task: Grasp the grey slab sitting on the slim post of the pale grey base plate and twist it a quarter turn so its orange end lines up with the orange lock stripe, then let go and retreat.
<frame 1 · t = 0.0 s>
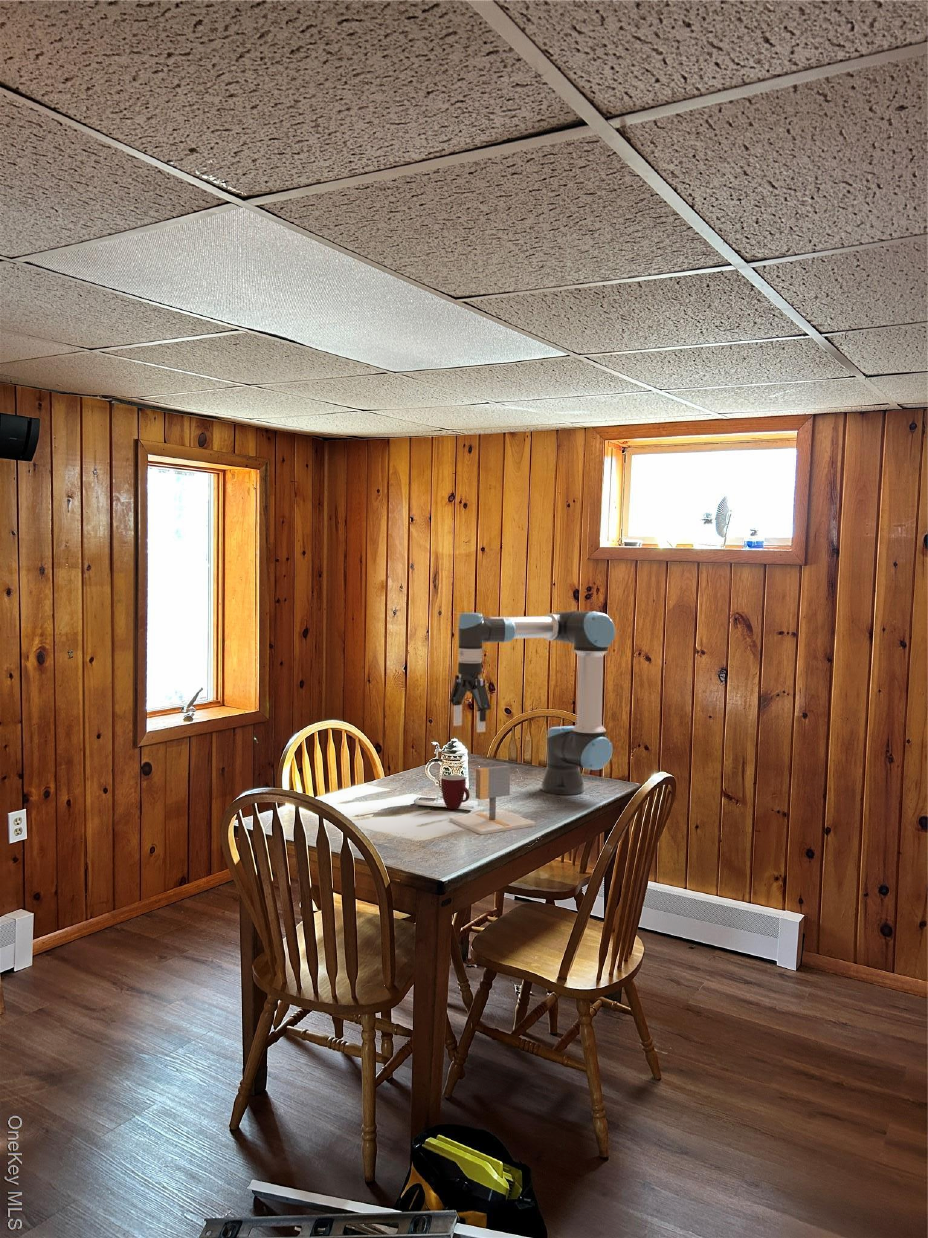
hand: (469, 728, 289), 28 cm above the table, fingers open, 13 cm apart
grey slab: (492, 782, 282), point 13 cm above the table, hinge at 0.0°
mug: (456, 808, 300), on the table
post base: (492, 823, 282), on the table
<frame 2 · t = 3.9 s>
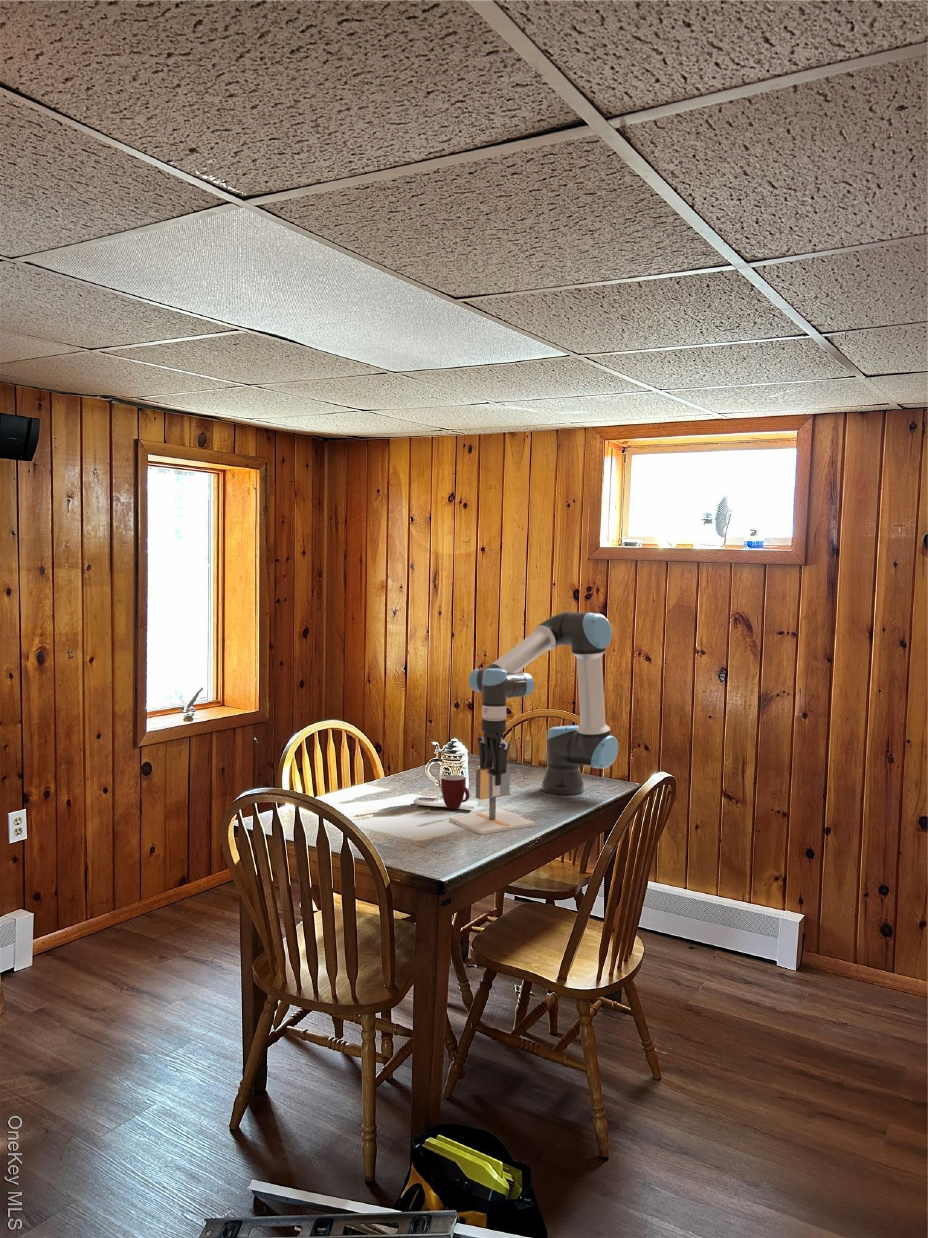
hand: (492, 794, 282), 9 cm above the table, fingers closed on grey slab, 3 cm apart
grey slab: (492, 782, 282), point 13 cm above the table, hinge at 0.4°, touching gripper
everything else where it was.
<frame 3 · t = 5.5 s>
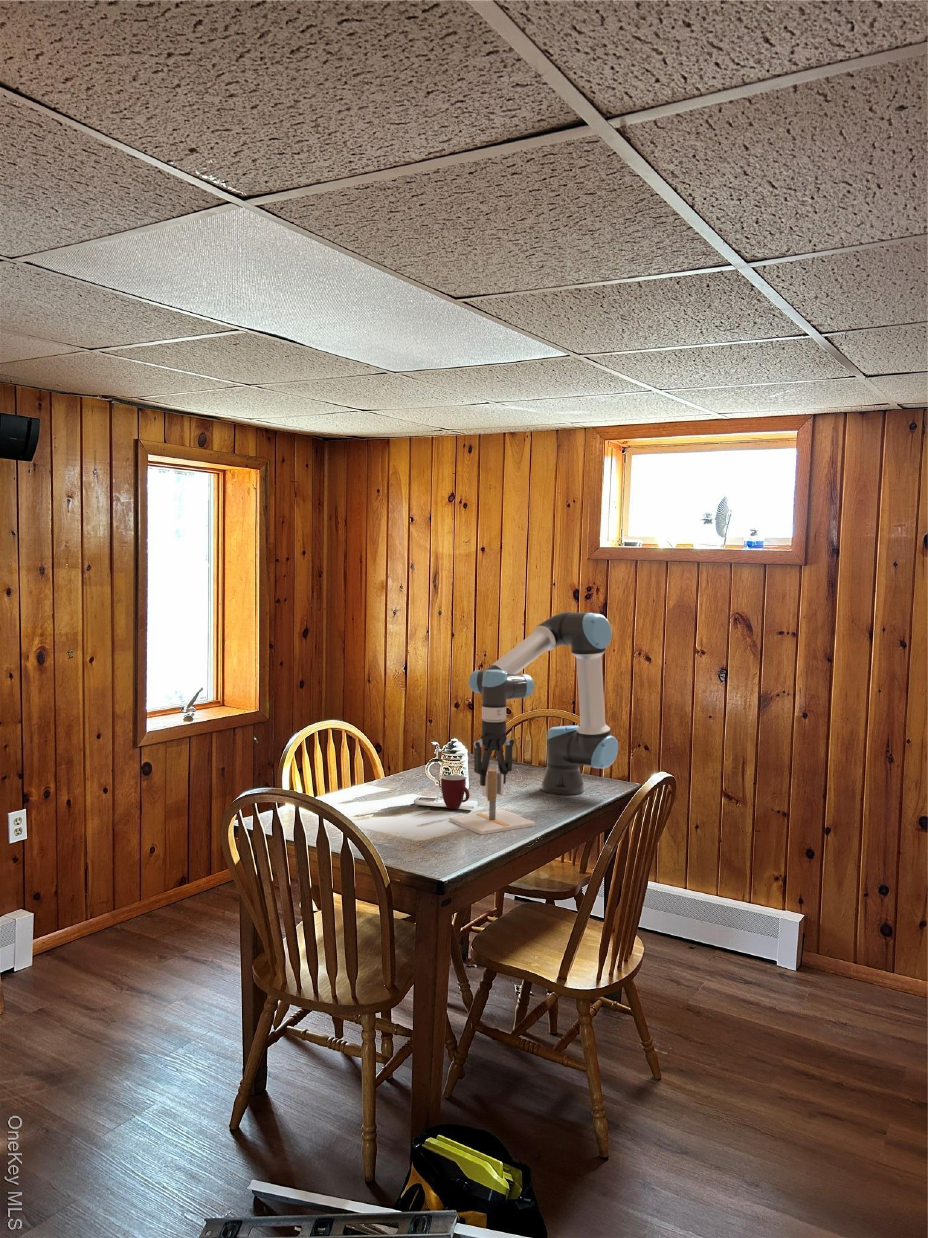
hand: (492, 795, 282), 9 cm above the table, fingers closed on grey slab, 4 cm apart
grey slab: (492, 782, 282), point 13 cm above the table, hinge at 52.8°, touching gripper
everything else where it was.
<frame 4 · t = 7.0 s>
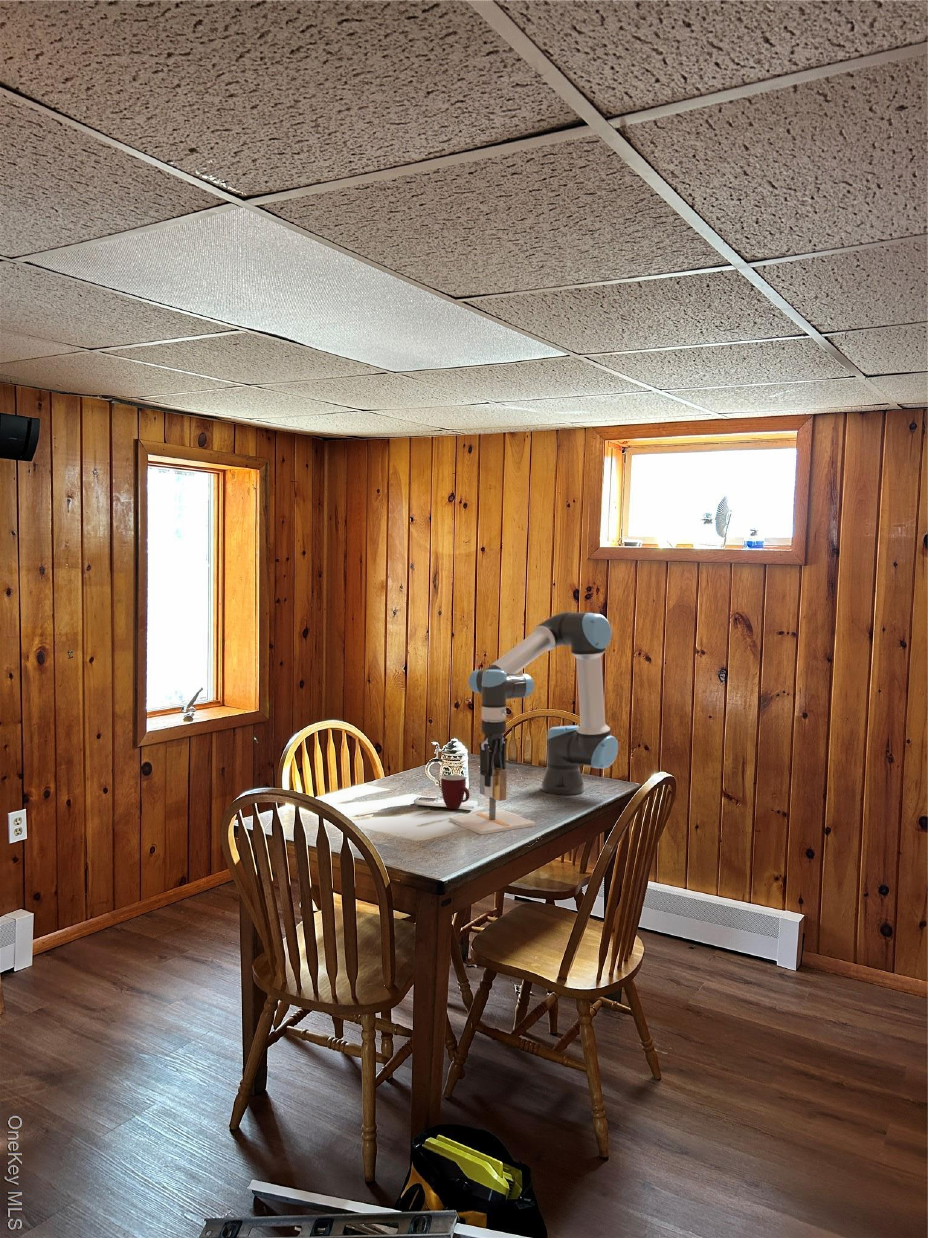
hand: (492, 795, 282), 9 cm above the table, fingers closed on grey slab, 4 cm apart
grey slab: (492, 782, 282), point 13 cm above the table, hinge at 89.7°, touching gripper
everything else where it was.
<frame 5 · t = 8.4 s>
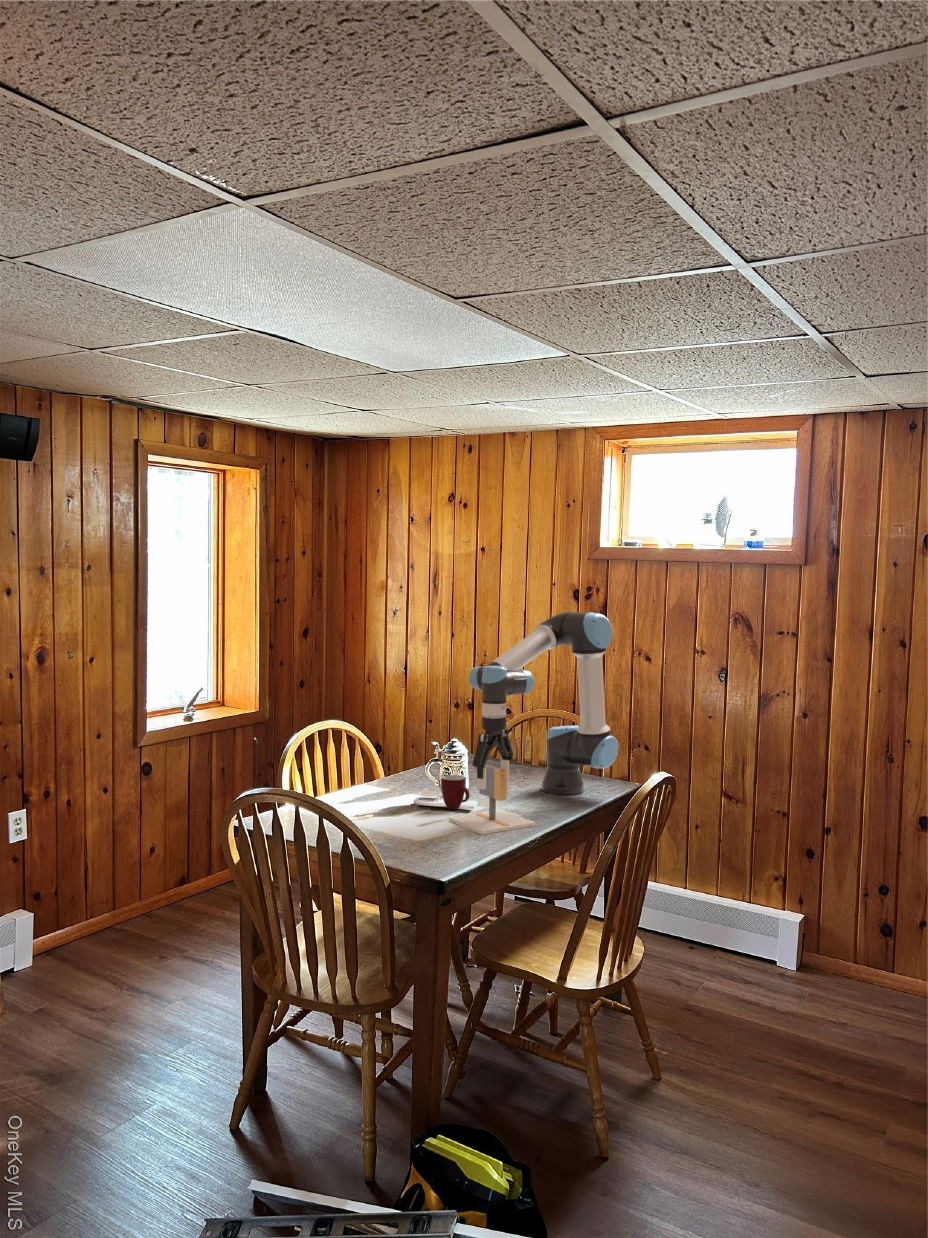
hand: (493, 784, 282), 12 cm above the table, fingers open, 13 cm apart
grey slab: (492, 782, 282), point 13 cm above the table, hinge at 91.6°
everything else where it was.
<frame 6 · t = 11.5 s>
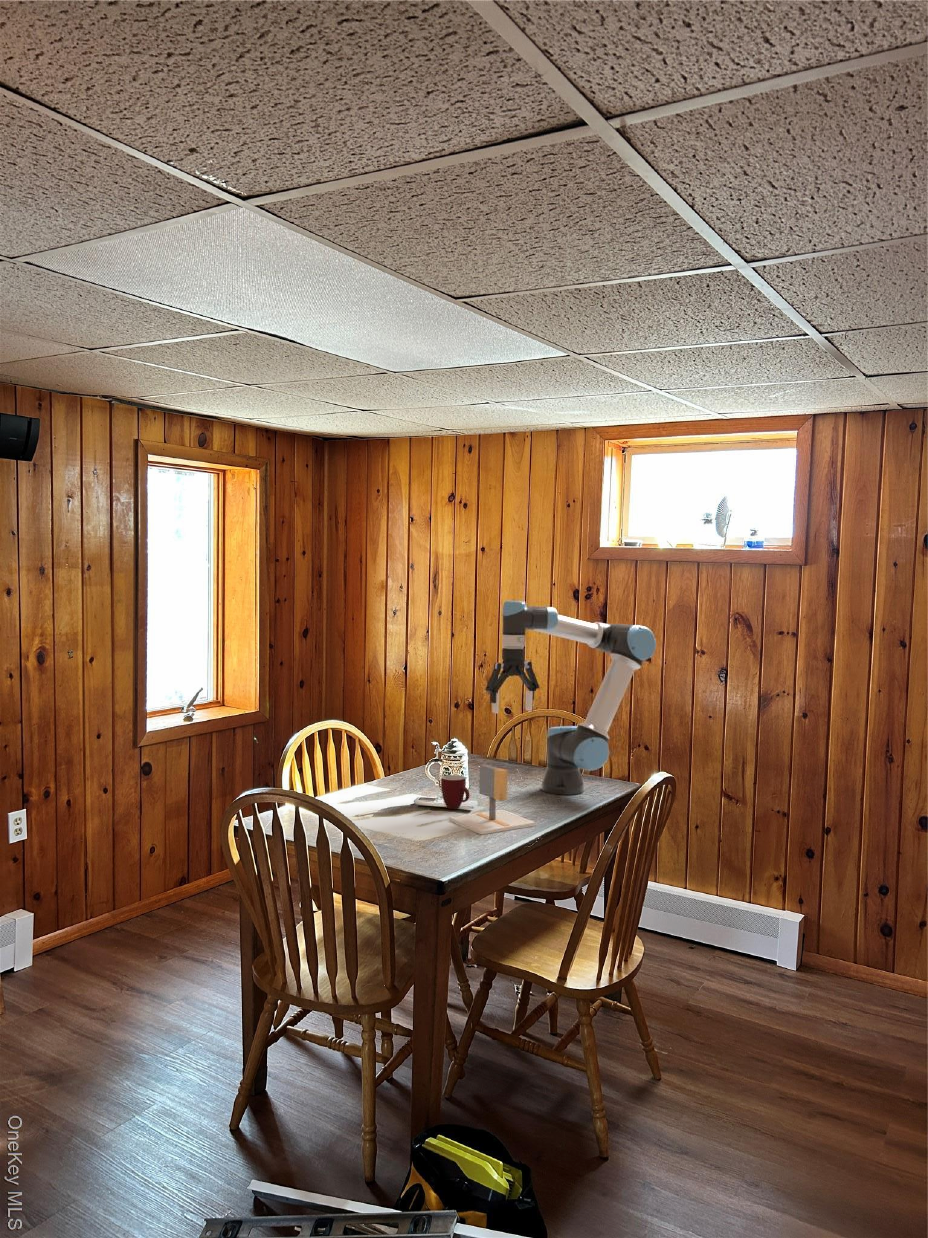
hand: (512, 711, 302), 32 cm above the table, fingers open, 13 cm apart
nothing on the table moved.
at the end: grey slab at +92° (first picture: +0°); the gripper is holding nothing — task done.
